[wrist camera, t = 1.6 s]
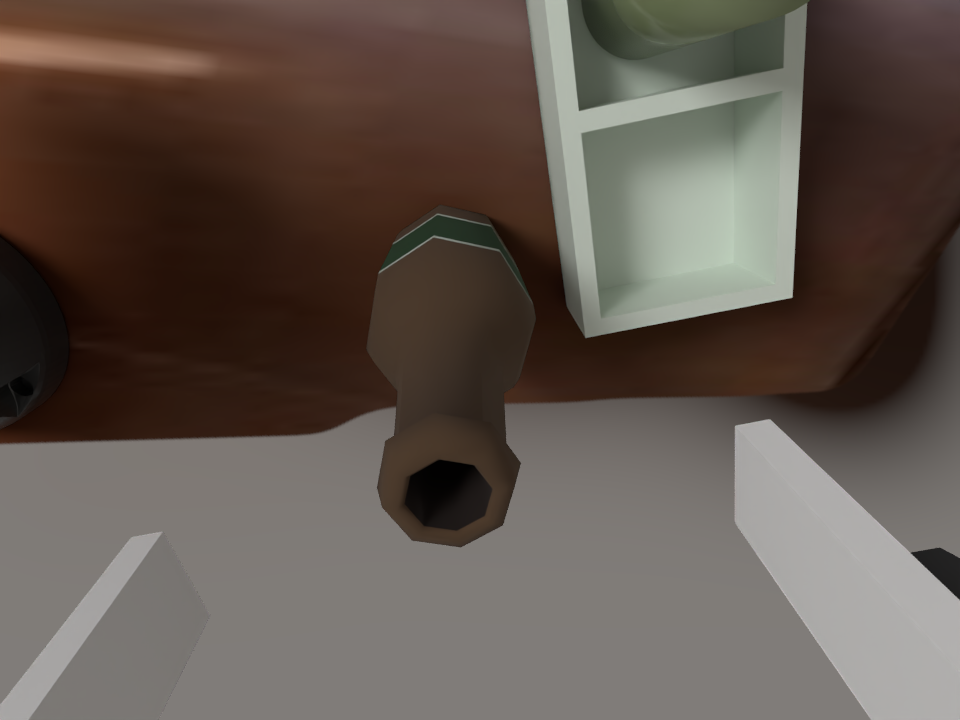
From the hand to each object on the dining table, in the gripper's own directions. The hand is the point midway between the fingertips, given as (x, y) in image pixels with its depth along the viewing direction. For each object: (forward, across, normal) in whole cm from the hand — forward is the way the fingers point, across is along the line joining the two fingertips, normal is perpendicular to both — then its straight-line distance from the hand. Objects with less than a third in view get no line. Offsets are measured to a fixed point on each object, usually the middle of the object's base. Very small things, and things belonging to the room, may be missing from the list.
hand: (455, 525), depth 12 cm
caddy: (+25, +13, +7) cm, 29 cm away
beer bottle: (+25, 0, 0) cm, 25 cm away
